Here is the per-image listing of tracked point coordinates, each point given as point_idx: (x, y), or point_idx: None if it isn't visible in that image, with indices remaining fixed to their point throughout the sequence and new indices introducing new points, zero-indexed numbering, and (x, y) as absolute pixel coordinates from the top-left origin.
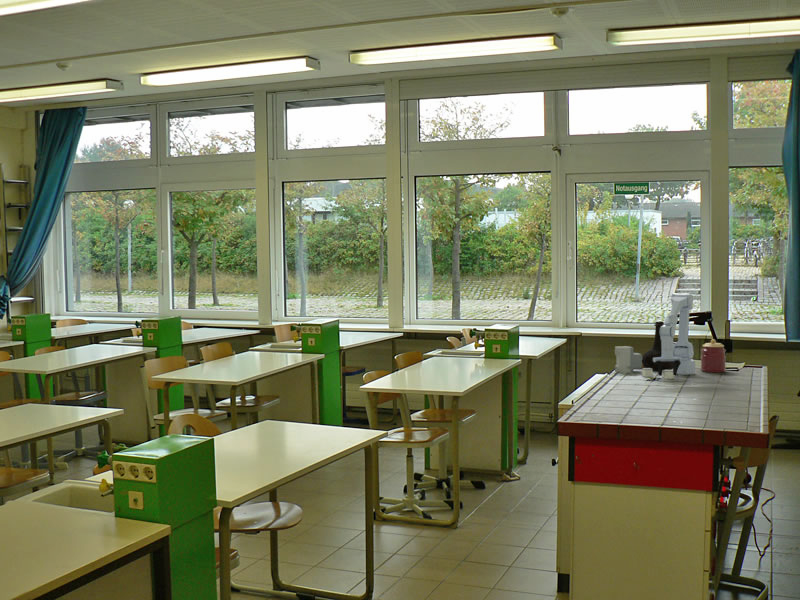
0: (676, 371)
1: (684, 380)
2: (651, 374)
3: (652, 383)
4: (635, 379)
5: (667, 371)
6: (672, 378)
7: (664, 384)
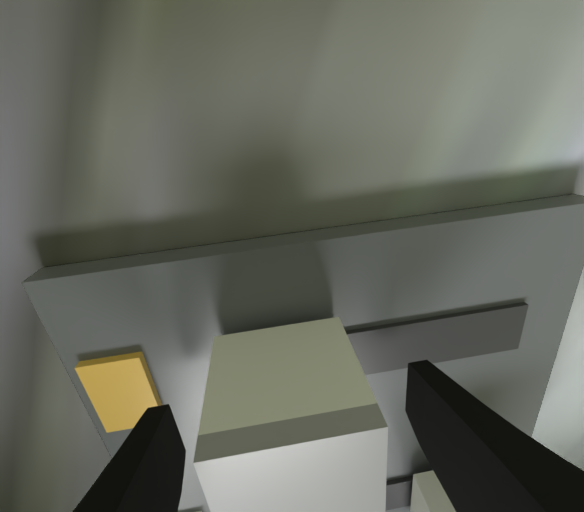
0: (110, 474)
1: (39, 398)
2: (441, 498)
3: (574, 152)
4: (548, 439)
5: (339, 422)
6: (226, 337)
7: (467, 2)
